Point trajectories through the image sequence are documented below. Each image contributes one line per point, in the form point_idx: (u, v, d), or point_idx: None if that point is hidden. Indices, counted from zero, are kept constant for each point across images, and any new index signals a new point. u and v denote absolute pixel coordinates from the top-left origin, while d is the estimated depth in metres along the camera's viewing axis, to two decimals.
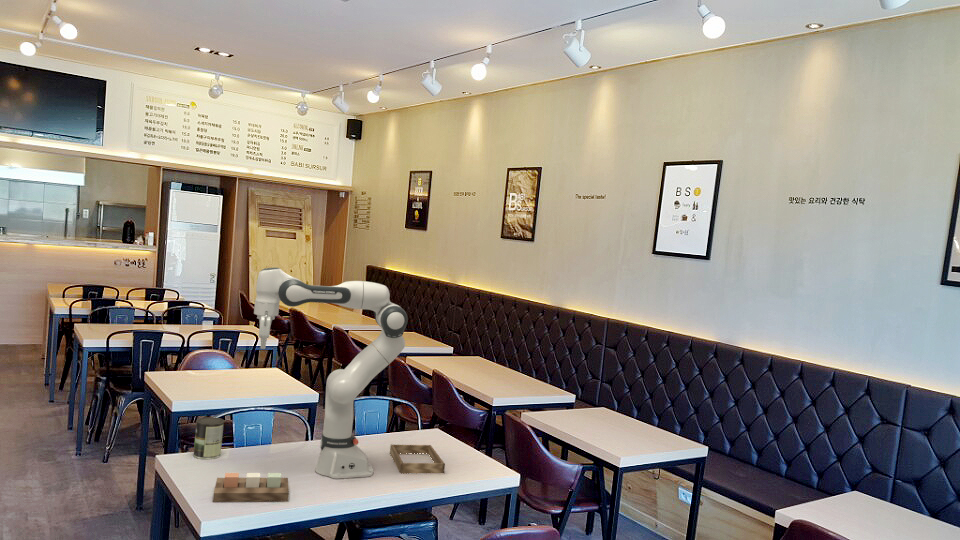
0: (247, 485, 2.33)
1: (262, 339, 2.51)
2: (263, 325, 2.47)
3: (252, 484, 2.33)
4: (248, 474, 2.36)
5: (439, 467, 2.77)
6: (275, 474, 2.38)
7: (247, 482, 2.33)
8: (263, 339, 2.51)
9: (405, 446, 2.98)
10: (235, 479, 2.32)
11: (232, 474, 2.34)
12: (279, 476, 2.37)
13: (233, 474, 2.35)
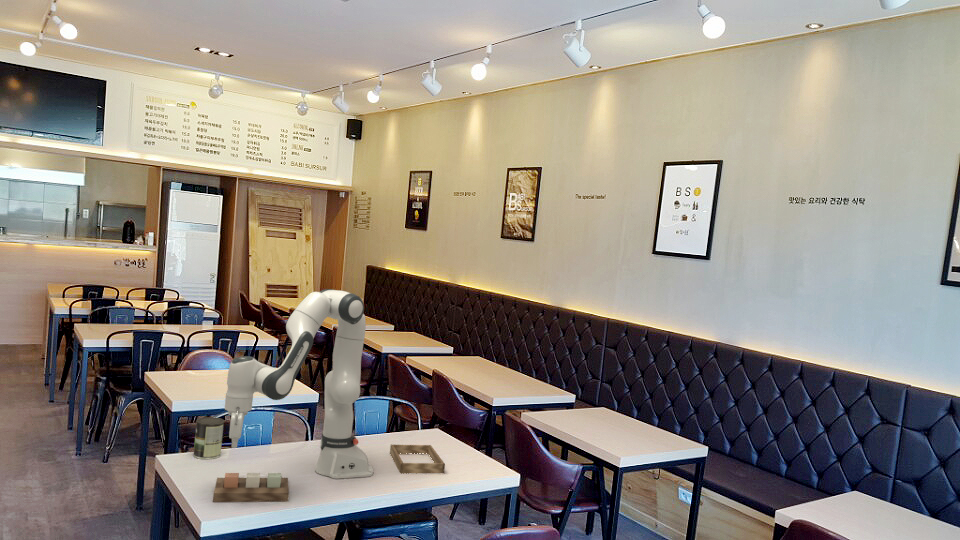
0: (247, 485, 2.33)
1: None
2: (234, 425, 2.24)
3: (252, 484, 2.33)
4: (248, 474, 2.36)
5: (439, 467, 2.77)
6: (275, 474, 2.38)
7: (247, 482, 2.33)
8: None
9: (405, 446, 2.98)
10: (235, 479, 2.32)
11: (232, 474, 2.34)
12: (279, 476, 2.37)
13: (233, 474, 2.35)
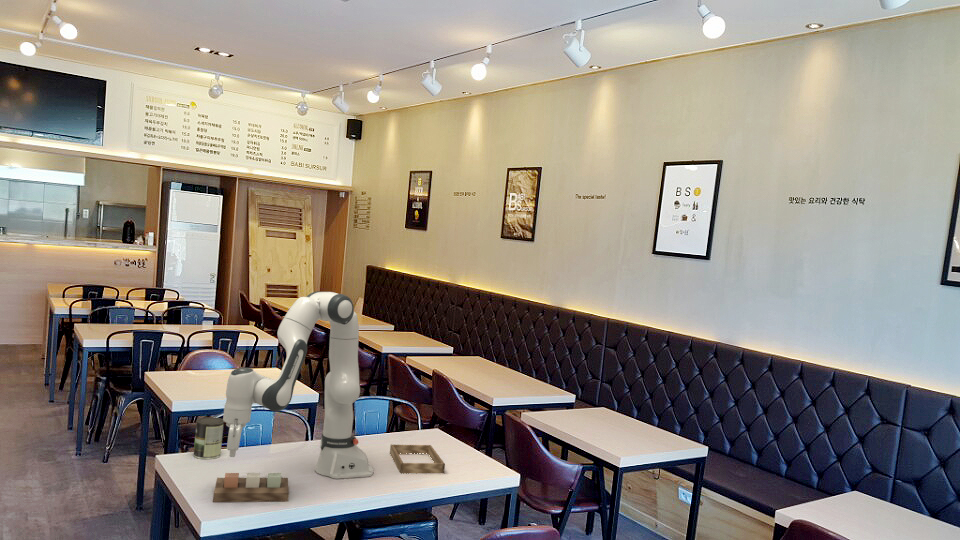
0: (247, 485, 2.33)
1: None
2: (232, 437, 2.23)
3: (252, 484, 2.33)
4: (248, 474, 2.36)
5: (439, 467, 2.77)
6: (275, 474, 2.38)
7: (247, 482, 2.33)
8: None
9: (405, 446, 2.98)
10: (235, 479, 2.32)
11: (232, 474, 2.34)
12: (279, 476, 2.37)
13: (233, 474, 2.35)
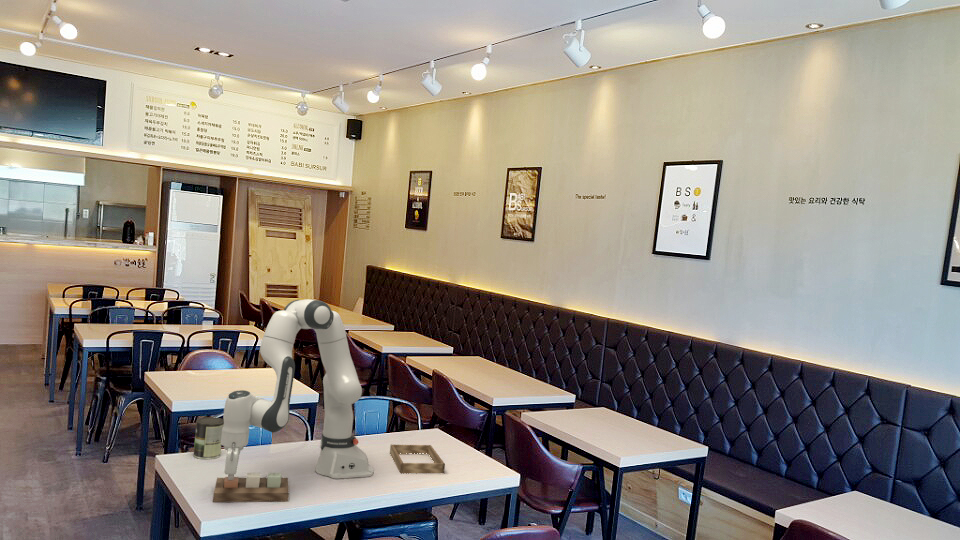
0: (247, 485, 2.33)
1: None
2: (229, 461, 2.24)
3: (252, 484, 2.33)
4: (248, 474, 2.36)
5: (439, 467, 2.77)
6: (275, 474, 2.38)
7: (247, 482, 2.33)
8: None
9: (405, 446, 2.98)
10: (235, 483, 2.32)
11: None
12: (279, 476, 2.37)
13: (233, 478, 2.35)
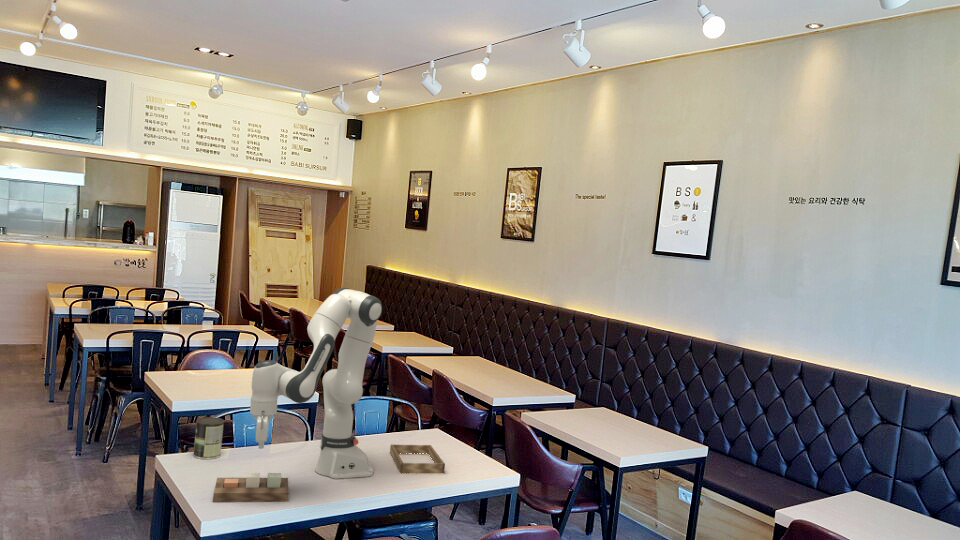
0: (247, 485, 2.33)
1: None
2: (260, 429, 2.27)
3: (252, 484, 2.33)
4: (248, 474, 2.36)
5: (439, 467, 2.77)
6: (275, 474, 2.38)
7: (247, 482, 2.33)
8: None
9: (405, 446, 2.98)
10: (234, 485, 2.32)
11: (231, 480, 2.34)
12: (279, 476, 2.37)
13: (233, 479, 2.35)
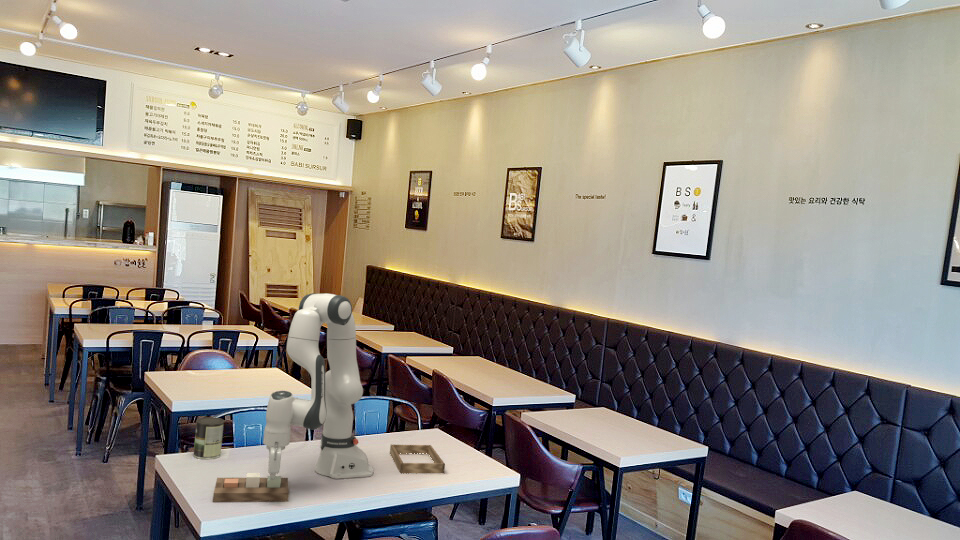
0: (247, 485, 2.33)
1: None
2: (273, 460, 2.28)
3: (252, 484, 2.33)
4: (248, 474, 2.36)
5: (439, 467, 2.77)
6: (275, 477, 2.38)
7: (247, 482, 2.33)
8: None
9: (405, 446, 2.98)
10: (234, 485, 2.32)
11: (231, 480, 2.34)
12: (279, 479, 2.37)
13: (233, 479, 2.35)
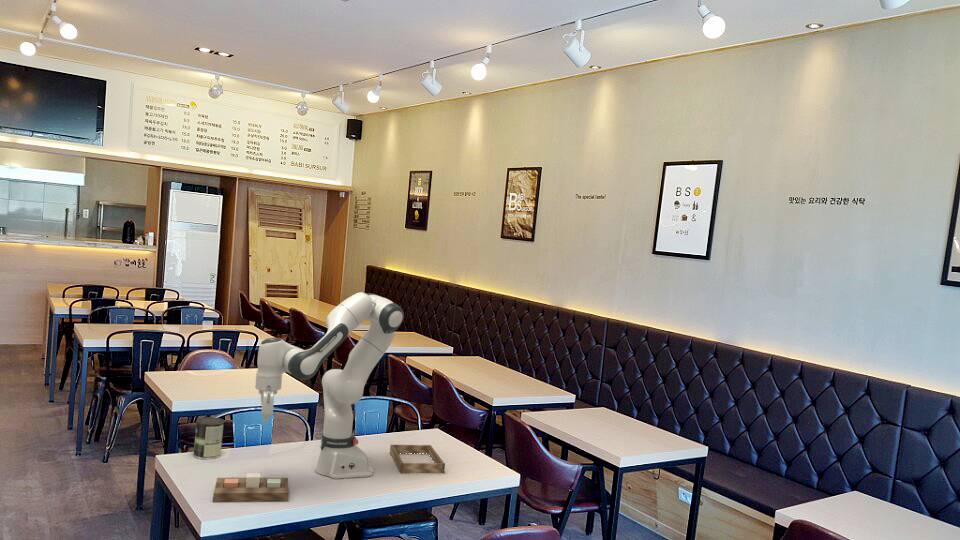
0: (247, 485, 2.33)
1: None
2: (266, 403, 2.33)
3: (252, 484, 2.33)
4: (248, 474, 2.36)
5: (439, 467, 2.77)
6: (274, 480, 2.38)
7: (247, 482, 2.33)
8: None
9: (405, 446, 2.98)
10: (234, 485, 2.32)
11: (231, 480, 2.34)
12: (279, 482, 2.37)
13: (233, 479, 2.35)
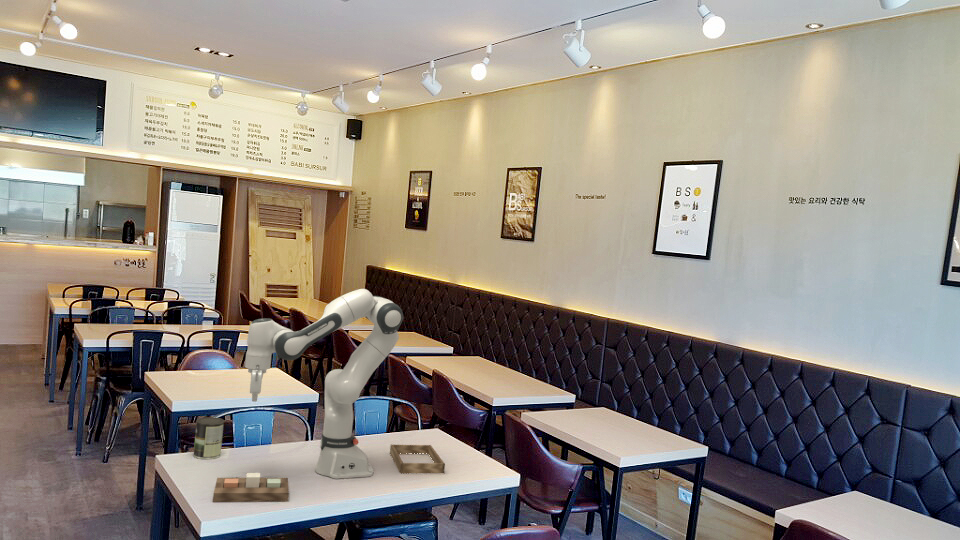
0: (247, 485, 2.33)
1: None
2: (254, 380, 2.38)
3: (252, 484, 2.33)
4: (248, 474, 2.36)
5: (439, 467, 2.77)
6: (274, 480, 2.38)
7: (247, 482, 2.33)
8: None
9: (405, 446, 2.98)
10: (234, 485, 2.32)
11: (231, 480, 2.34)
12: (279, 482, 2.37)
13: (233, 479, 2.35)
